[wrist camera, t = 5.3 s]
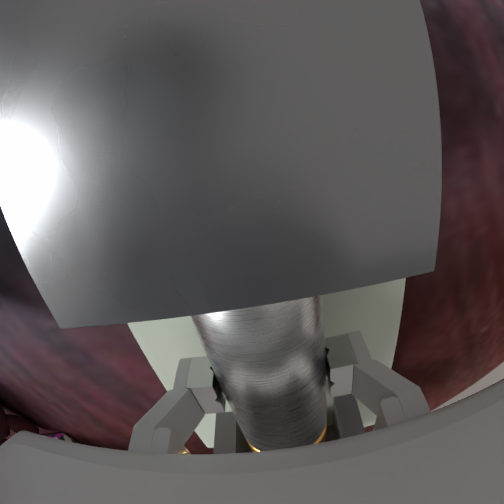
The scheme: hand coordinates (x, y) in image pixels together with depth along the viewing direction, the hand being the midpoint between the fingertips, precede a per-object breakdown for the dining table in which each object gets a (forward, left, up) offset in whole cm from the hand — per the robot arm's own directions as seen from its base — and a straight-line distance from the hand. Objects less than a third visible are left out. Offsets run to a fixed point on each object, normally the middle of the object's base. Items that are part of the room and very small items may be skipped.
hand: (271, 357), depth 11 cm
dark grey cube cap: (-10, 0, -1) cm, 10 cm away
